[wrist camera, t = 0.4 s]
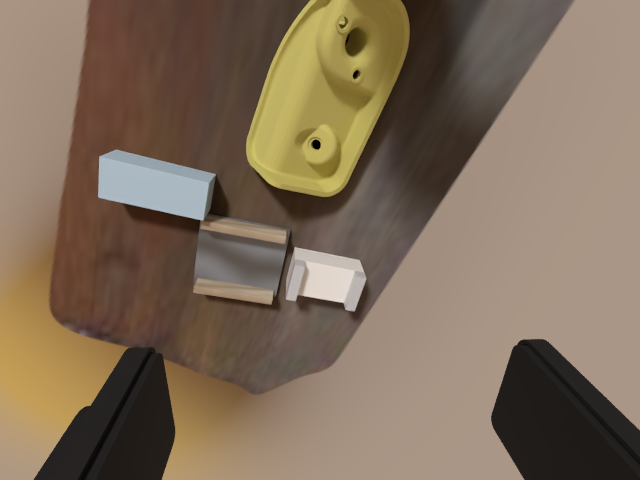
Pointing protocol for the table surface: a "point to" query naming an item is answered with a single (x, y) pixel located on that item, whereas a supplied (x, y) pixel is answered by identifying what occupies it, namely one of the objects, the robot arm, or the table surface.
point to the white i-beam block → (325, 277)
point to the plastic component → (327, 92)
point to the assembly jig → (239, 259)
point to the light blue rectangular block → (155, 184)
